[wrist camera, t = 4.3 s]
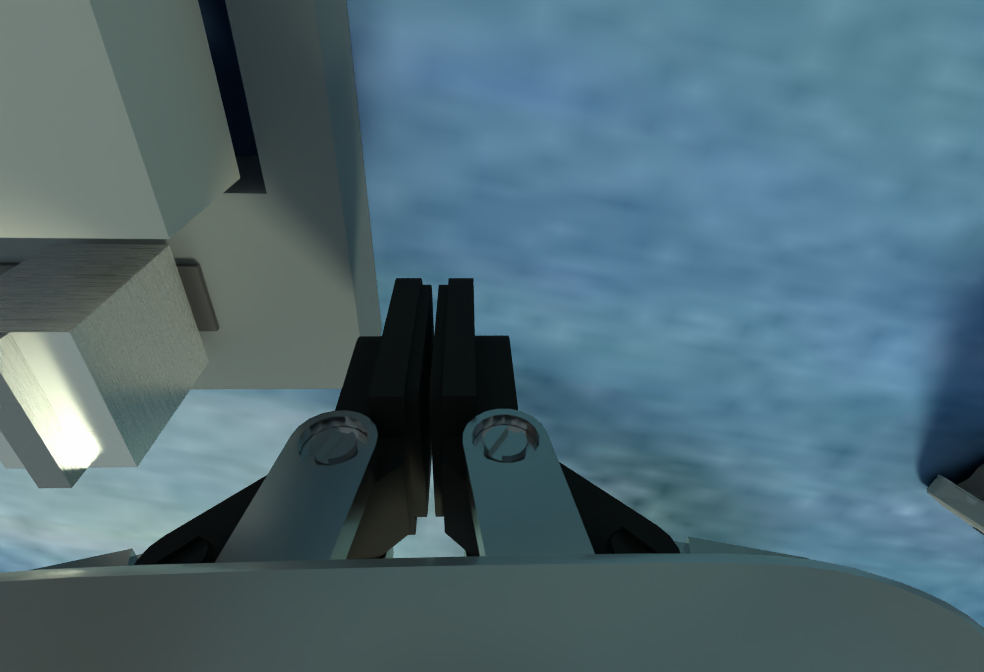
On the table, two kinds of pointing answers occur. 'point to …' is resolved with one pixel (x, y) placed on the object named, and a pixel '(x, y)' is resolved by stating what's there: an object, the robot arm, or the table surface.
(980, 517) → the electrical switch
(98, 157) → the ivory button
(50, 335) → the grooved grey block
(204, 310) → the panel
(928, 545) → the table surface
